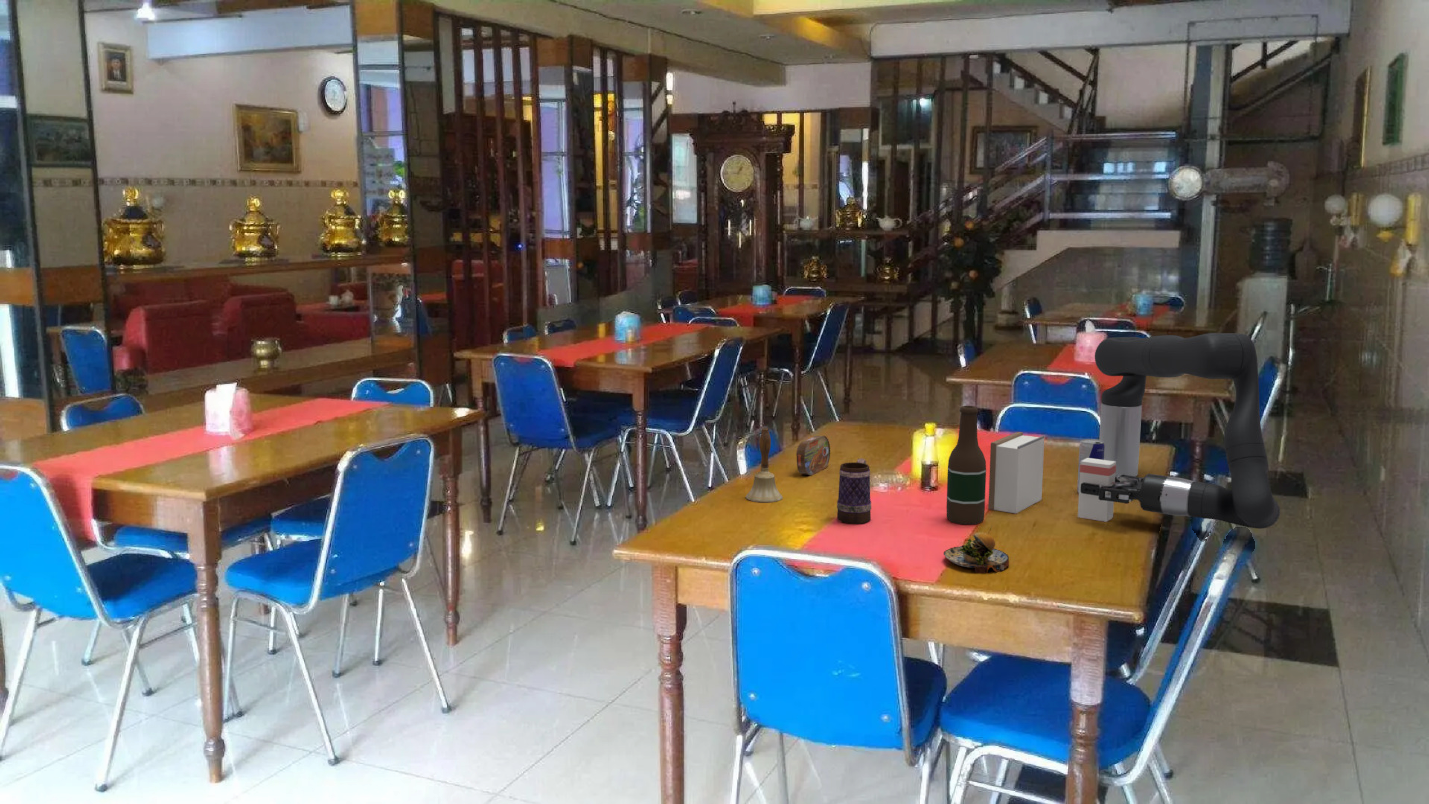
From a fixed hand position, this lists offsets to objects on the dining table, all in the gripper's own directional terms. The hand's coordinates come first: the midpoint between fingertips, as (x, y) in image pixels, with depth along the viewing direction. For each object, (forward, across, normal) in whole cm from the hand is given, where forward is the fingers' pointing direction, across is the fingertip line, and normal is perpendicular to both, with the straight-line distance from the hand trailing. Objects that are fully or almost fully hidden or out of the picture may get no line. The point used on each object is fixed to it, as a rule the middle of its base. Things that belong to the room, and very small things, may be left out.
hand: (1088, 483), depth 237 cm
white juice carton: (-2, 0, +7) cm, 7 cm away
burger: (+5, +43, +8) cm, 44 cm away
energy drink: (+6, -19, +7) cm, 21 cm away
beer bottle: (+19, +18, +7) cm, 27 cm away
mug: (+38, +30, +7) cm, 49 cm away
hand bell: (+63, +28, +7) cm, 69 cm away
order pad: (+15, 0, +7) cm, 17 cm away
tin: (+68, 0, +7) cm, 69 cm away
